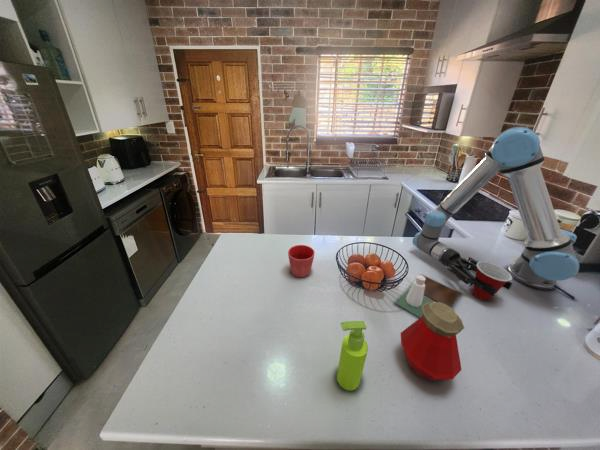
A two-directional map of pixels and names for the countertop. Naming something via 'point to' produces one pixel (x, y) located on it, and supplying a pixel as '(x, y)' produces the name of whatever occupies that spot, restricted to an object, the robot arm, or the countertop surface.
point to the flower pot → (301, 260)
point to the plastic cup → (490, 278)
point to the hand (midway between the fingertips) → (502, 289)
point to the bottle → (433, 343)
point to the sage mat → (413, 310)
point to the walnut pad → (440, 292)
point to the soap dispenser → (352, 355)
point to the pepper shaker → (416, 292)
